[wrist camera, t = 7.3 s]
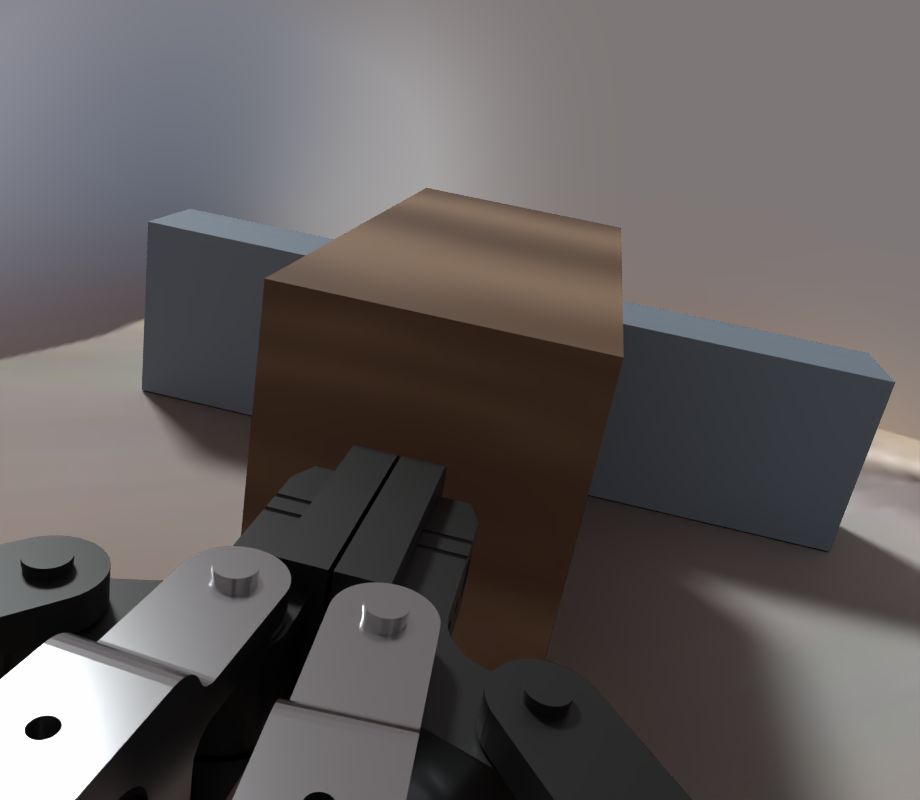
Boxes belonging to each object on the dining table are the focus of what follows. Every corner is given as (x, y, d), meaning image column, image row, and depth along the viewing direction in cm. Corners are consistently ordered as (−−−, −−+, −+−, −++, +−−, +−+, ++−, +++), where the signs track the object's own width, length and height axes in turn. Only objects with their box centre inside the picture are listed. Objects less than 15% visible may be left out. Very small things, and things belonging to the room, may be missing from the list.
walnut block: (513, 782, 17) (623, 357, 14) (225, 704, 18) (264, 278, 14) (556, 491, 29) (620, 228, 26) (385, 450, 30) (426, 187, 26)
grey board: (829, 551, 28) (895, 382, 26) (142, 389, 30) (148, 221, 28) (809, 509, 31) (868, 353, 29) (181, 363, 33) (190, 208, 31)
